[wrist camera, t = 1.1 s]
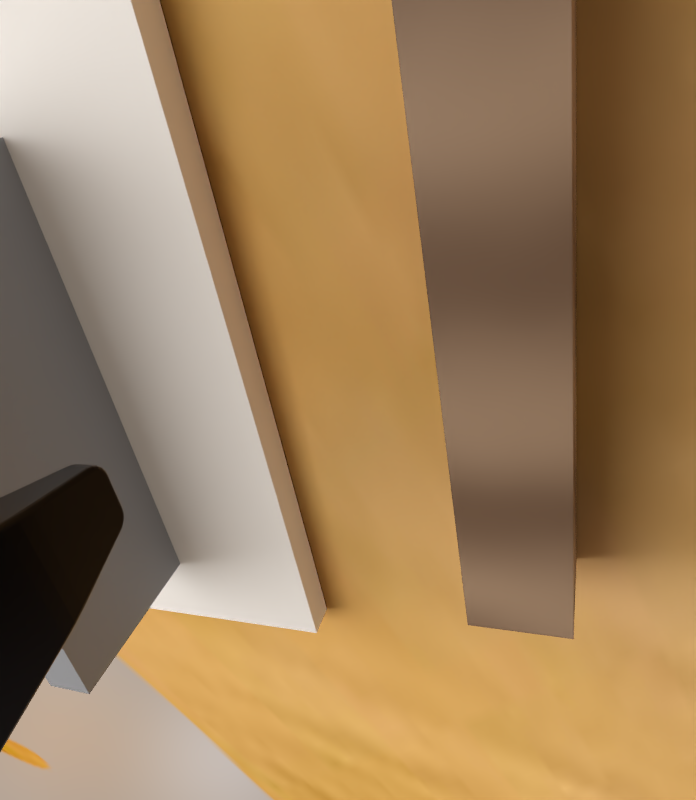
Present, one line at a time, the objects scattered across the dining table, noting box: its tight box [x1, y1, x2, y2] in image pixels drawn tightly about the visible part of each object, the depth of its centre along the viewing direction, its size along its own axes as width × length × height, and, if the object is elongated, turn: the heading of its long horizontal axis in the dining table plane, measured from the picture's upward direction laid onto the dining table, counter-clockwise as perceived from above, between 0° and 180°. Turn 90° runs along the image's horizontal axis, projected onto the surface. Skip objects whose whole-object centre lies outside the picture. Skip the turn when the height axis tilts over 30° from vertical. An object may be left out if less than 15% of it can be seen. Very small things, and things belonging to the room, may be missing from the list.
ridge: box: [0, 0, 327, 694], centre depth 20 cm, size 22×12×7 cm, turn 11°
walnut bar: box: [392, 0, 576, 639], centre depth 15 cm, size 22×3×4 cm, turn 11°
